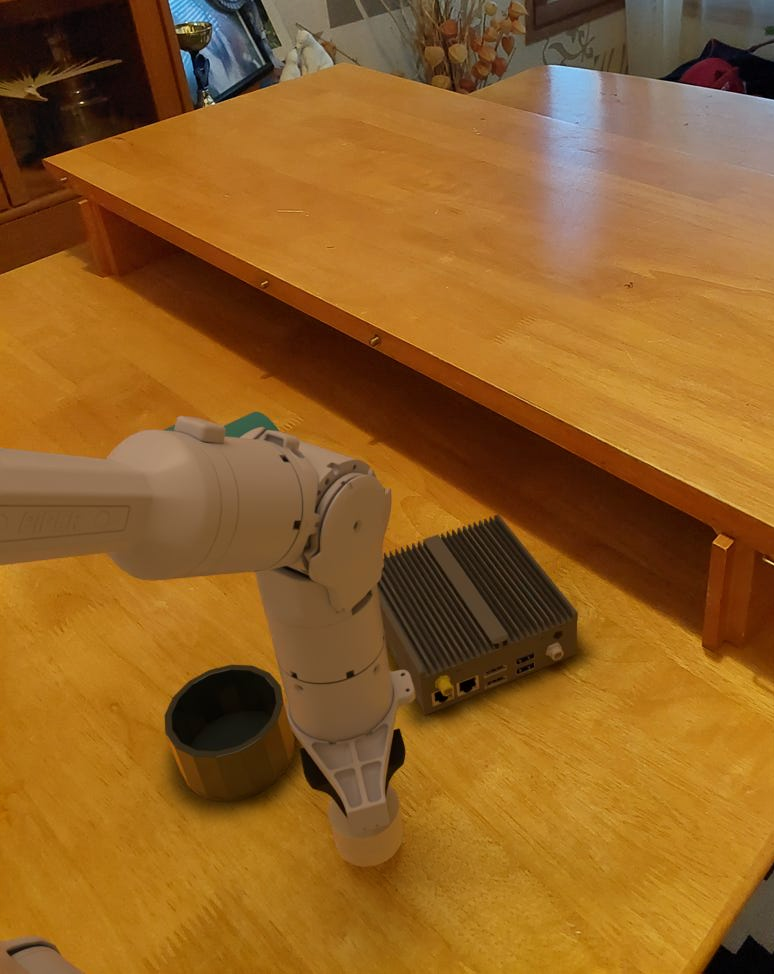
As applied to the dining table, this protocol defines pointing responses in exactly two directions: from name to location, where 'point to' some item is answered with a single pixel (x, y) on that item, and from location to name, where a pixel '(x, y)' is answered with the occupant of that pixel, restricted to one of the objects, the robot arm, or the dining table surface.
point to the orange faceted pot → (230, 732)
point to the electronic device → (471, 613)
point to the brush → (368, 835)
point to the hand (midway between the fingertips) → (362, 798)
